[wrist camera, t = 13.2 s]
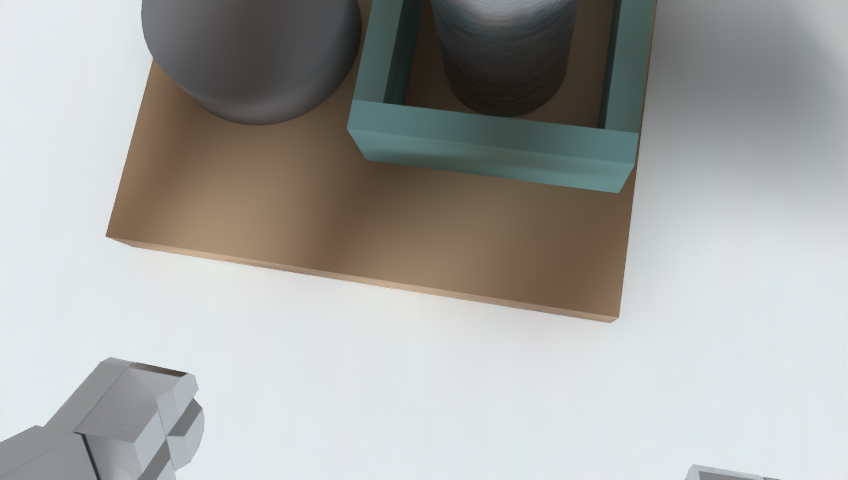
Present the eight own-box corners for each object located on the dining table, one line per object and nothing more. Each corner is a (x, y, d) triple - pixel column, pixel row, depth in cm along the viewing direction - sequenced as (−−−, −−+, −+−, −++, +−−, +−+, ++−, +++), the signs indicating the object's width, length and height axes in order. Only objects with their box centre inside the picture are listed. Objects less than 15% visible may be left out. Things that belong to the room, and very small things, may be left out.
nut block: (132, 246, 22) (51, 215, 18) (217, -84, 24) (162, -174, 20) (610, 323, 20) (635, 306, 16) (656, -50, 22) (687, -143, 18)
